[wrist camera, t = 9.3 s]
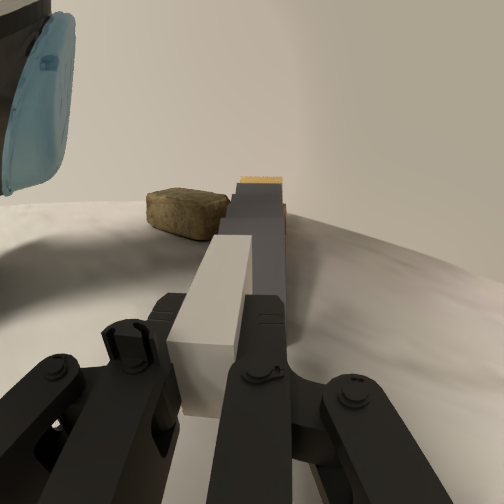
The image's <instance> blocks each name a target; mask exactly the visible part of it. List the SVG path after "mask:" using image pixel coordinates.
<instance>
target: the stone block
mask: <svg viewBox="0 0 504 504" xmlns="http://www.w3.org/2000/svg"><path fill="white" fill-rule="evenodd" d="M146 204H147V211H146V215H147V222H148V223H149V224H150V225H152V226H153V227H156V228H158V229H160V230H163V231H167V232H170V233H173V234H177V235H179V236H184V237H187V238H191V239H195V240H209V239H211V238H213V236H214V235H218V231H219V225H220V219H221V218H225V217H226V211H227V205H228V204H231V202H230V200H229V199H228V197H227V196H226V195H223V194H215V193H213V192H206V191H200V190H193V189H185V188H170V189H167V190H162V191H156V192H153V193H148V194H147V196H146Z"/></svg>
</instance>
